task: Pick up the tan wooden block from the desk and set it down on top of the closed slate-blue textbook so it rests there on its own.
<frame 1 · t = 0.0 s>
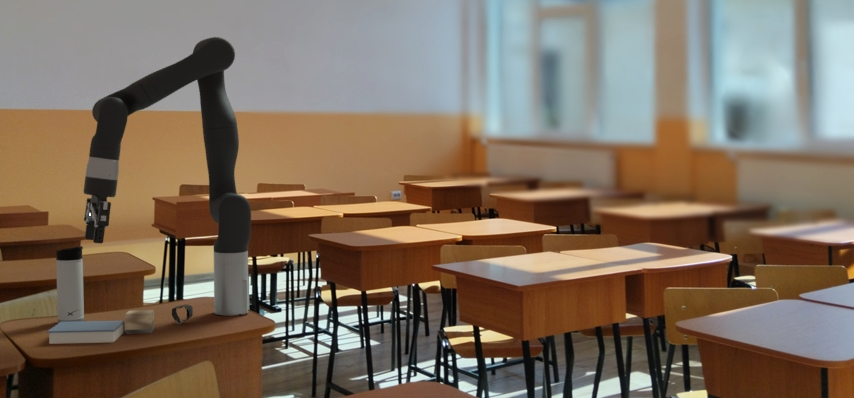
hand: (93, 241, 199), 22 cm above the table, tool pointing down, fingers open, 8 cm apart
textbook: (87, 340, 192), on the table
travel mug: (71, 323, 209), on the table
tan wooden block: (140, 331, 200), on the table
wristwatch: (183, 324, 209), on the table
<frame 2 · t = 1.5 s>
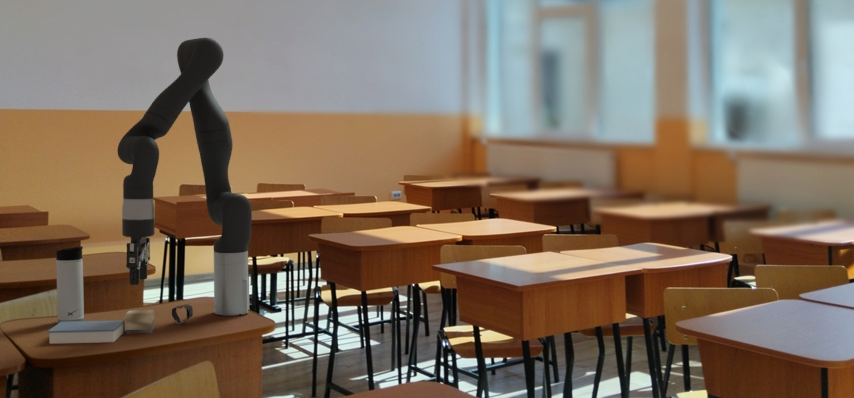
hand: (138, 281, 199), 12 cm above the table, tool pointing down, fingers open, 8 cm apart
nothing on the table moved.
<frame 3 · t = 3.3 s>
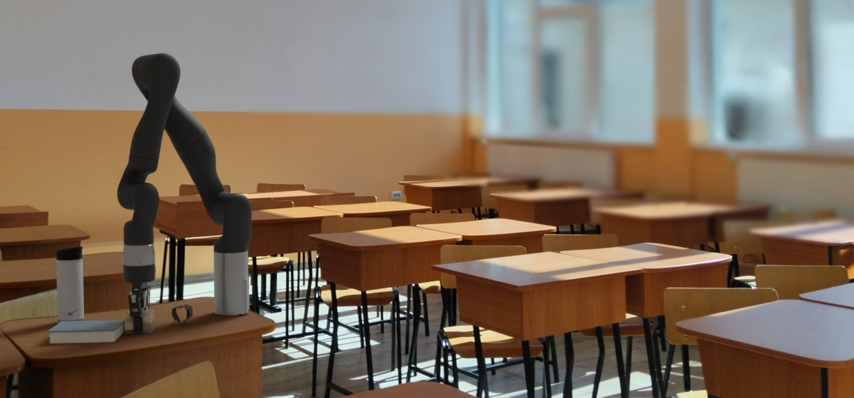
hand: (140, 329, 200), 0 cm above the table, tool pointing down, fingers closed on tan wooden block, 4 cm apart
tan wooden block: (140, 331, 200), on the table, touching gripper
everything else where it was.
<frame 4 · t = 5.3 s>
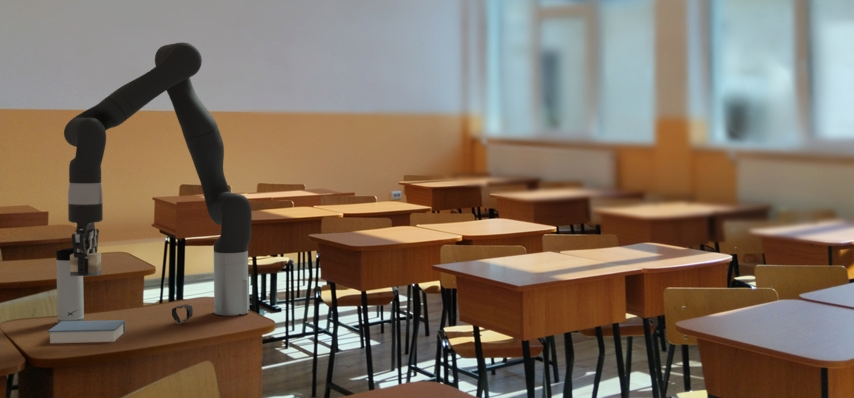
hand: (86, 273, 191), 16 cm above the table, tool pointing down, fingers closed on tan wooden block, 4 cm apart
tan wooden block: (86, 274, 191), point 15 cm above the table, touching gripper
everything else where it was.
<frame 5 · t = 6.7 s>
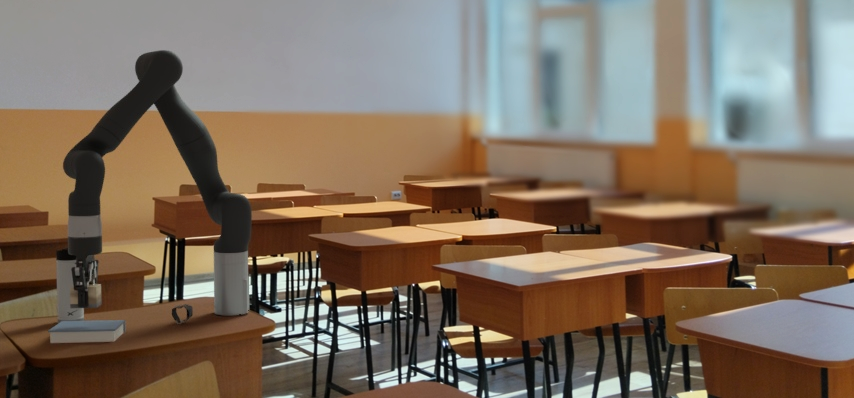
hand: (86, 304, 192), 8 cm above the table, tool pointing down, fingers closed on tan wooden block, 4 cm apart
tan wooden block: (86, 306, 192), point 8 cm above the table, touching gripper
everything else where it was.
when the fingers open (5 cm above the table, at t = 7.7 s): tan wooden block drops 1 cm, resting on textbook.
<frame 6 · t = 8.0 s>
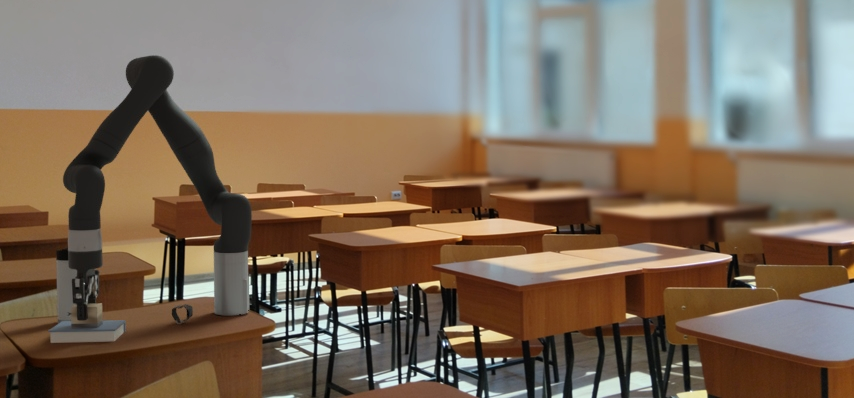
hand: (86, 316, 192), 5 cm above the table, tool pointing down, fingers open, 6 cm apart
textbook: (88, 339, 193), on the table, touching tan wooden block
tan wooden block: (87, 325, 192), point 3 cm above the table, touching textbook
everything else where it was.
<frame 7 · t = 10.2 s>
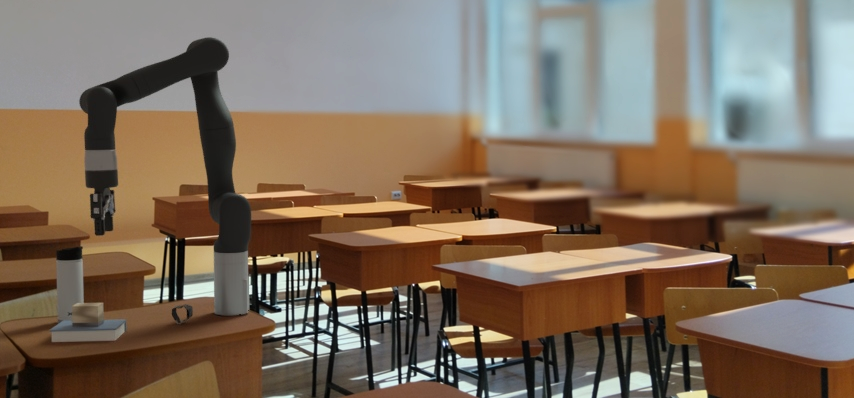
hand: (104, 233, 199), 24 cm above the table, tool pointing down, fingers open, 8 cm apart
textbook: (89, 338, 194), on the table
tan wooden block: (88, 324, 193), point 3 cm above the table
everything else where it was.
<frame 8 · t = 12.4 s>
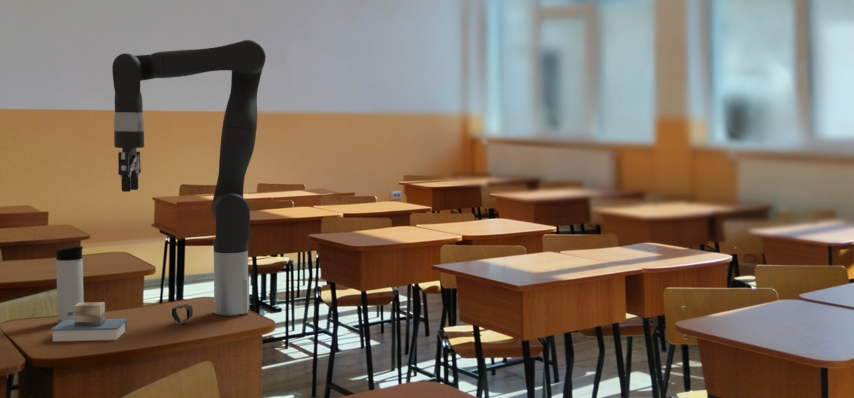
hand: (130, 190, 214), 34 cm above the table, tool pointing down, fingers open, 8 cm apart
textbook: (90, 338, 195), on the table, touching tan wooden block
tan wooden block: (90, 324, 194), point 3 cm above the table, touching textbook
everything else where it was.
at the end: tan wooden block inside the target area on the textbook (0.5 cm from its centre), point 3.5 cm above the textbook's base; tan wooden block touching textbook; the gripper is holding nothing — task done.
